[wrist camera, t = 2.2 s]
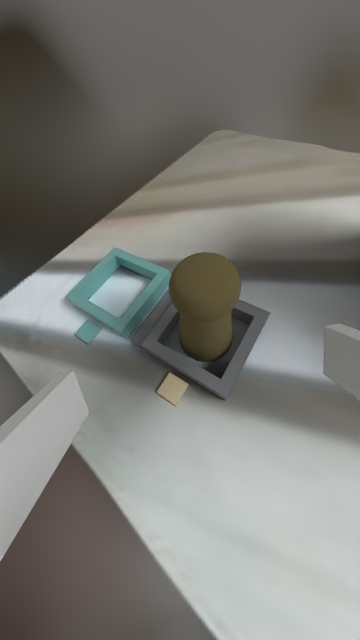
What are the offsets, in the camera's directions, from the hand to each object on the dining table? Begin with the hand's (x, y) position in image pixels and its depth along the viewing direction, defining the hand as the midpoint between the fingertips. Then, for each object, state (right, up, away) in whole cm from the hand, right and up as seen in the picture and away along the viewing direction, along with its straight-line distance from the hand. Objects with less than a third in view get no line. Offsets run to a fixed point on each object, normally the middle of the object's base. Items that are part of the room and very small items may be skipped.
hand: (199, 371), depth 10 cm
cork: (+2, +1, +12) cm, 13 cm away
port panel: (-4, +3, +14) cm, 15 cm away
